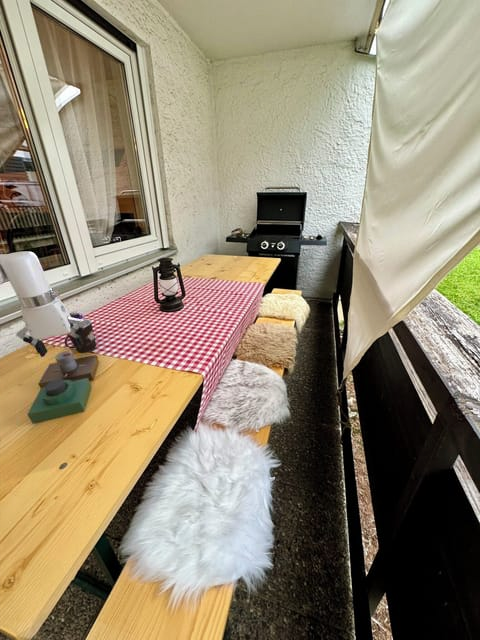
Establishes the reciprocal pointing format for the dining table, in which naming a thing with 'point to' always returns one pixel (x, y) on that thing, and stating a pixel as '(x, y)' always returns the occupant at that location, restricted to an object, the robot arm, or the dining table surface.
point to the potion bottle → (76, 315)
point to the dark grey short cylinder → (56, 387)
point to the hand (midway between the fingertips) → (62, 350)
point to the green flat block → (61, 402)
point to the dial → (66, 361)
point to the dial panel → (82, 371)
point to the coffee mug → (84, 337)
